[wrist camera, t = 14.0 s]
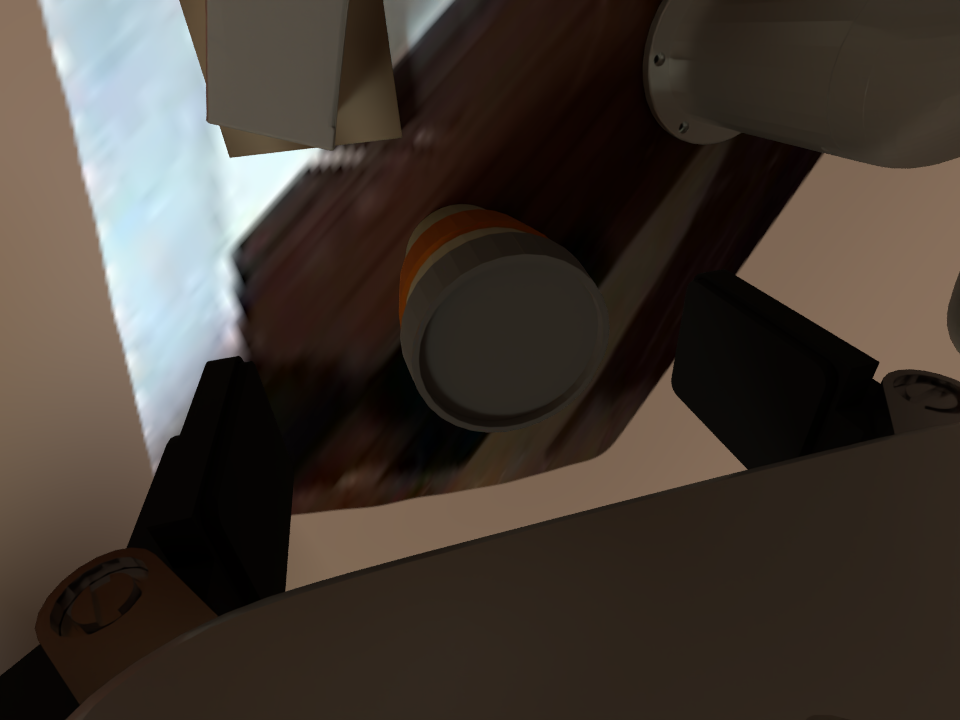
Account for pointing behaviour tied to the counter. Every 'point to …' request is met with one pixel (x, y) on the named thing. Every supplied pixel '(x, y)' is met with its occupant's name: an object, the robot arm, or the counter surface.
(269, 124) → the small box
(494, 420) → the reusable coffee cup
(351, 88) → the shelf board
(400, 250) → the counter surface
